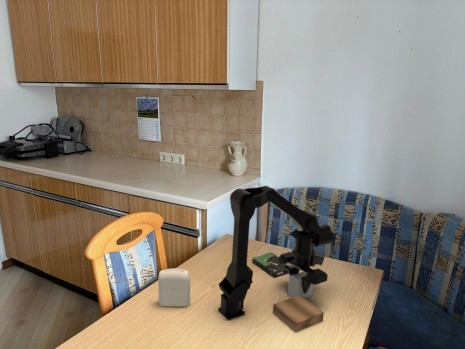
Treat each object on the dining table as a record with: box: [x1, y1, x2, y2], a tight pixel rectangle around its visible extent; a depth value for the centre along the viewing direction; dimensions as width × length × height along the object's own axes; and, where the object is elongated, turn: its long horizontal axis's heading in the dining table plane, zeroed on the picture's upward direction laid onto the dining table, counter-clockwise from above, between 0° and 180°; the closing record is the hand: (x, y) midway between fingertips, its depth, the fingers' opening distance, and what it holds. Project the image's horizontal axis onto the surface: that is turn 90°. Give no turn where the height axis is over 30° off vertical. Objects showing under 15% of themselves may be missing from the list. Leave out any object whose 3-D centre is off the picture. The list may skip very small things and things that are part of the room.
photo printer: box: [157, 268, 191, 308], centre depth 115 cm, size 10×4×12 cm, turn 90°
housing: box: [287, 271, 314, 299], centre depth 123 cm, size 7×4×7 cm, turn 121°
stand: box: [272, 295, 325, 333], centre depth 111 cm, size 11×11×3 cm
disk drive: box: [251, 252, 289, 279], centre depth 143 cm, size 10×3×15 cm
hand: (300, 289), depth 123 cm, fingers closed on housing, 4 cm apart
